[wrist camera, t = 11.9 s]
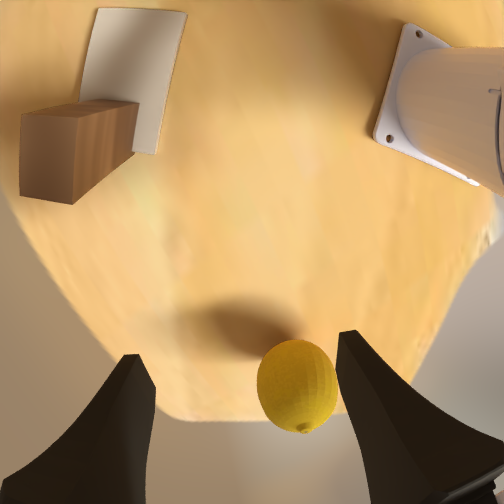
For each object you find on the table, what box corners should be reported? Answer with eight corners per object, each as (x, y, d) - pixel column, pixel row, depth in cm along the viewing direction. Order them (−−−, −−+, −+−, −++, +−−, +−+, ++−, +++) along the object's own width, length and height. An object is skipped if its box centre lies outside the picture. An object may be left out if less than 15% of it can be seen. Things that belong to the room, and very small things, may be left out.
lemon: (239, 339, 24) (243, 430, 17) (304, 305, 23) (331, 396, 16) (275, 375, 26) (287, 457, 19) (334, 347, 25) (360, 429, 18)
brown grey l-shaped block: (187, 15, 13) (154, -36, 6) (155, 157, 17) (105, 211, 10) (102, 9, 12) (25, -24, 5) (77, 146, 16) (-5, 191, 9)
